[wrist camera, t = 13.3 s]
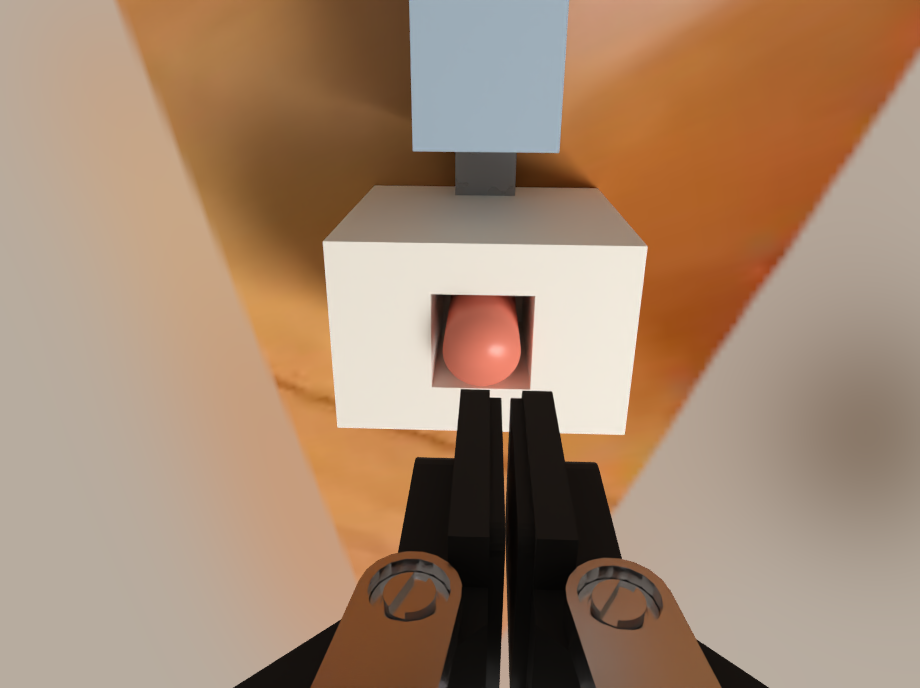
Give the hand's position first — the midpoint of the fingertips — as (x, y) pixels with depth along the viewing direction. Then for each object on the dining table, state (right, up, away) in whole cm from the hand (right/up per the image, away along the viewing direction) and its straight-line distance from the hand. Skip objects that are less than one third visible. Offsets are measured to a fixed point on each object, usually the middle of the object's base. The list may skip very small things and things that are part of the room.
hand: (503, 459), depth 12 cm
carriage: (+1, +17, +19) cm, 25 cm away
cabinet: (+1, +7, +25) cm, 26 cm away
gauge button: (0, +5, +19) cm, 20 cm away
